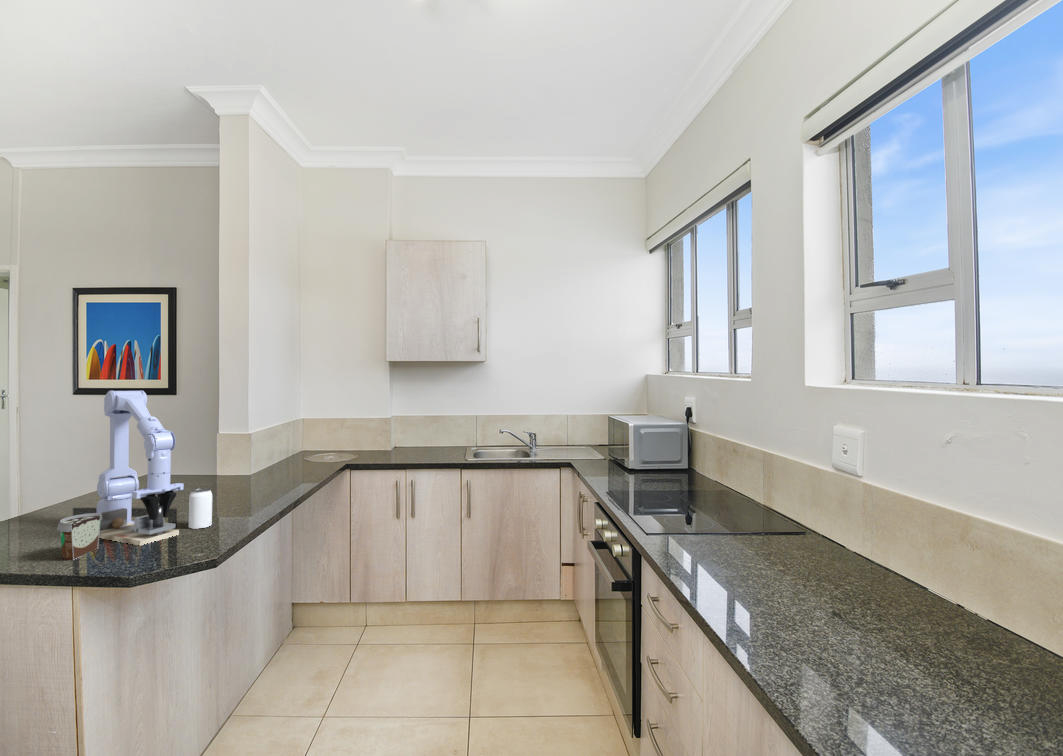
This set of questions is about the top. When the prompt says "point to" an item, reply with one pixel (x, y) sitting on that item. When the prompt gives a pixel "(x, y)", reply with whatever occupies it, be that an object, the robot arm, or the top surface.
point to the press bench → (127, 529)
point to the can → (200, 508)
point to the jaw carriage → (152, 523)
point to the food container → (79, 534)
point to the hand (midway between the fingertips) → (158, 518)
